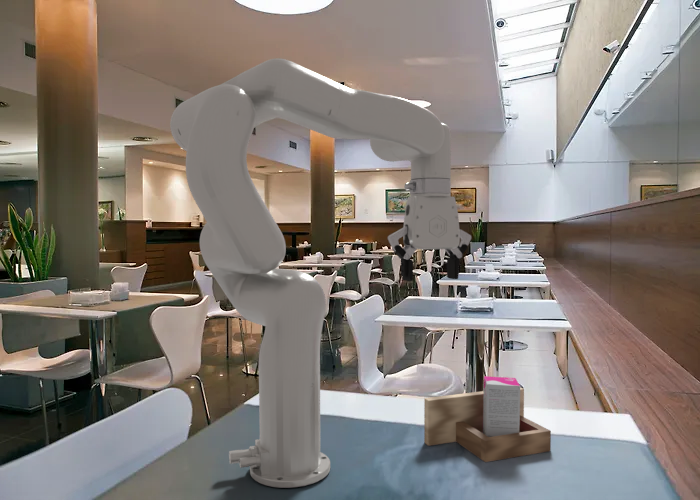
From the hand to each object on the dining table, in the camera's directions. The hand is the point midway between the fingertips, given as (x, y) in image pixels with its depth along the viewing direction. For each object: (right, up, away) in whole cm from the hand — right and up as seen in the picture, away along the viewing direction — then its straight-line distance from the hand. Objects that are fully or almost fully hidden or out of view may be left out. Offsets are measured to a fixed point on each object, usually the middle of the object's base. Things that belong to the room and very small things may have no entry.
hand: (430, 279), depth 105 cm
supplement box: (+11, -29, -8) cm, 32 cm away
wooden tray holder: (+9, -29, -9) cm, 31 cm away
